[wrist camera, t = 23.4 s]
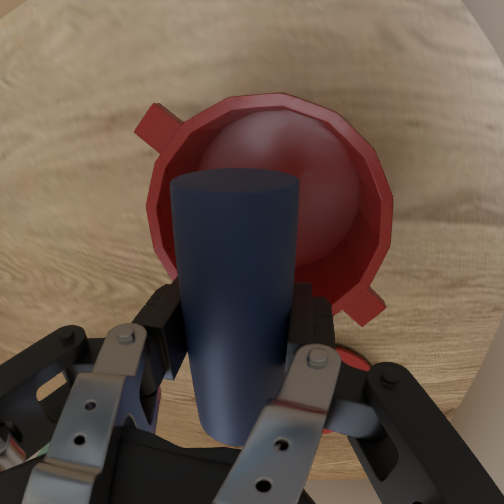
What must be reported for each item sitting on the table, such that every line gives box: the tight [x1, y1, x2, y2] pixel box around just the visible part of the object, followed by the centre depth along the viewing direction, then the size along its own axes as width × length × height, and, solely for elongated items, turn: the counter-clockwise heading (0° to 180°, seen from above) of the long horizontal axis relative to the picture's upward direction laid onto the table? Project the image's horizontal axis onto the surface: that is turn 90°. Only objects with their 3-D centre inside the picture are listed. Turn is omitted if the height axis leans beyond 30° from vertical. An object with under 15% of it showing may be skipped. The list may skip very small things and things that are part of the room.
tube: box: [170, 168, 300, 446], centre depth 11 cm, size 10×4×4 cm, turn 0°
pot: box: [134, 93, 393, 327], centre depth 23 cm, size 16×21×8 cm
